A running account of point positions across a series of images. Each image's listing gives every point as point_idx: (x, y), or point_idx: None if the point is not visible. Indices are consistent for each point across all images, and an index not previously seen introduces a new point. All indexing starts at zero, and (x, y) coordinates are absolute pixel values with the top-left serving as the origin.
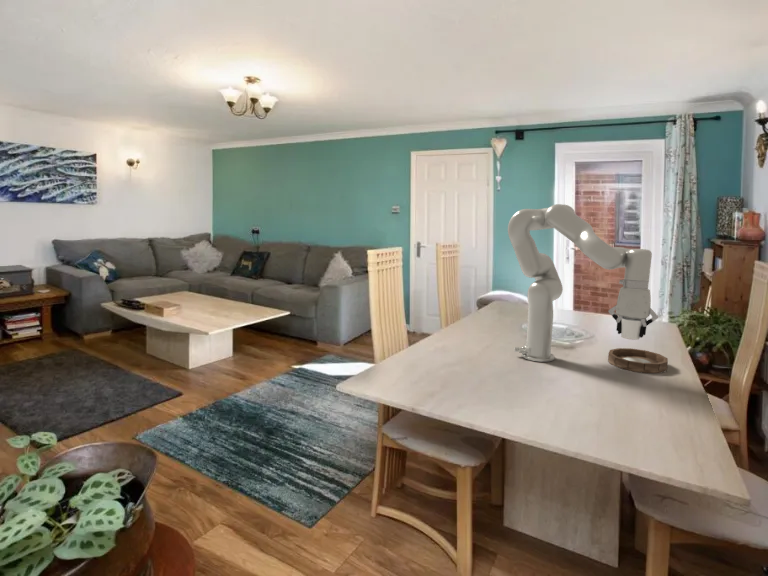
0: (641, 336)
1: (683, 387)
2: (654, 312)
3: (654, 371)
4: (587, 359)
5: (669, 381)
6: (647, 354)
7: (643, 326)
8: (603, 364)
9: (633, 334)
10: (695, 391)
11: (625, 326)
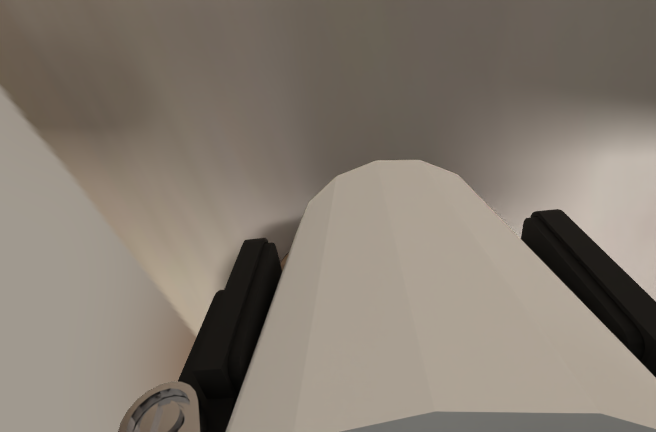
0: (246, 245)
1: (115, 158)
2: None
3: (284, 260)
4: (594, 236)
5: (194, 195)
6: None
7: (206, 395)
8: (507, 217)
9: (332, 206)
10: (56, 142)
11: (510, 261)
